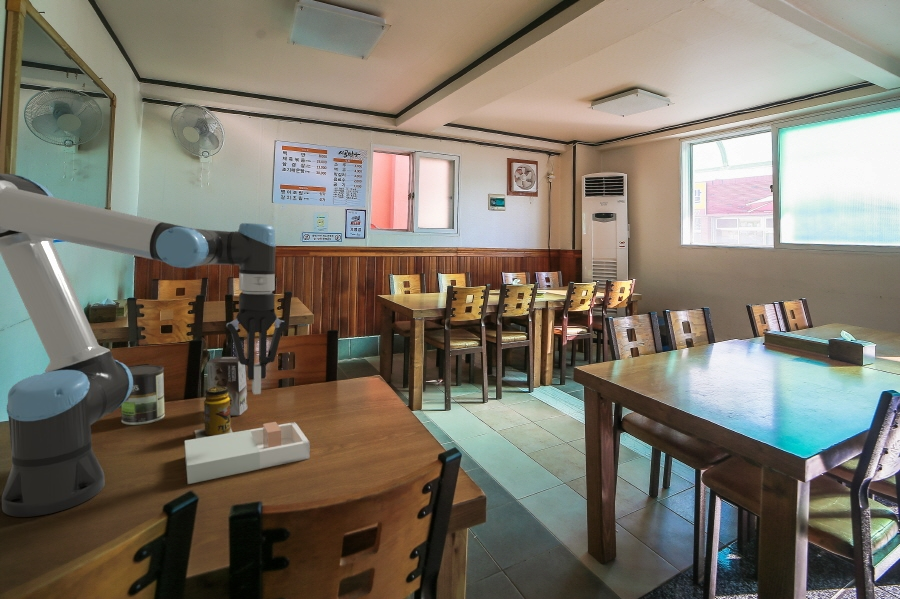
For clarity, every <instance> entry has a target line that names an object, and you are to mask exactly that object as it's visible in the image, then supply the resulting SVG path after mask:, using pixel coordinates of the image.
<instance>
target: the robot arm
mask: <svg viewBox="0 0 900 599" xmlns="http://www.w3.org/2000/svg"><path fill="white" fill-rule="evenodd" d="M275 235H276V233H275V228H274V227H273V225H270V224H264V223H246V222H244V223H239V226H238V230H237V231H225V230H213V229H212V230H211V229H202V228H200V229H199V228H192V227H186V226H182V225H179V224H174V223H169V222H164V221H161V220H156V219H151V218H147V217H142V216H138V215H133V214H129V213H125V212H121V211H115V210H113V209H112V210H111V209H107V208H102V207H99V206H94V205H89V204H84V203H80V202H76V201H72V200H71V201H70V200H66V199H63V198H59V197H55V196H54V195H53V194H52V192H51V191H50V190H49V189H48V188H46V187H45V186H44V185H43V184H41V183H39V182H37V181H35V180H32V179H30V178H27V177H25V176H23V175H19V174H12V173H3V172H0V256H1V257H2V260H3V262H4V264H5V266H6V269H7V270H8V273H9V275H10V277H11V279H12V282H13V284H14V285H15V287H16V289H17V292H18V294H19V297H20V299H21V301H22V302H23V305H24V308H25V309H26V311H27V313H28V316H29V318H30V321H31V322H32V324H33V326H34V329H35V330H36V333H37V335H38V337H39V339H40V341H41V343H42V345H43V348H44V350H45V353H46V354H47V356H48V358H49V362H48V364H47V366H46V368H45V370H44V372H43V373H42V374H34V375H31V376H28V377H26V378H23V379H21V380H20V381H17V382H16V383H15V384H13V385H12V386H11V388H10V389H9V391H8V393H7V405H6V413H7V416H8V429H9V430H8V431H9V438H10V440H9V441H10V452H11V453H10V454H11V465H12V466H11V470H10V472H9V475H8V478H7V480H6V482H5V486H4V489H3V491H2V495H1V510H2V512H3V513H4V514H5V515H7V516H11V517H16V518H17V517H18V518H30V517H39V516H45V515H50V514H53V513H57V512H61V511H64V510H68V509H71V508H73V507H76V506H78V505H81V504H82V503H83V504H84V503H85V502H87V501H89V500H90V499H92V498H94V497H95V496H97V495H98V494H99V493H100V492H101V491H102V490H103V489H104V487H105V485H106V484H105V483H106V482H105V481H106V479H105V473H104V472H105V471H104V470H103V468H102V466H101V464H100V462H99V460H98V458H97V456H96V454H95V453H94V451H93V445H92V428H91V427H92V426H91V425H93V424H95V423H96V422H98V421H99V420H101V419H102V418H104V417H105V416H107V415H108V414H112V413H113V412H114V411H116V410H118V409H119V408H120V407H121V404H122V403H124V402H125V401H126V400H127V398H128V397H129V395H130V393H131V391H132V388H133V377H132V374H131V372H130V370H129V369H128V368H129V367H128V366H127V365H126V364H124V363H123V362H120V361H119V360H117V359H114V356H113V354H112V351H111V350H110V348H106V347H104V346H101V345H100V344H99V343H98V341H97V338H96V336H95V334H94V332H93V329H92V327H91V325H90V323H89V320H88V317H87V316H86V314H85V312H84V310H83V307H82V305H81V301H79V298H78V296H77V293H76V291H75V289H74V287H73V284H72V282H71V280H70V278H69V275H68V274H67V272H66V269H65V267H64V264H63V262H62V259H61V258H60V255H59V252H58V251H57V249H56V247H55V244H54V241H55V240H57V241H62V242H66V243H70V244H71V243H72V244H75V245H76V244H77V245H81V246H87V247H92V248H97V249H100V250H106V251H111V252H115V253H120V254H125V255H131V256H135V257H140V258H144V259H148V260H154V261H158V262H162V263H166V264H167V265H169V266H171V267H174V268H175V267H176V268H180V269H190V268H193V267H198V266H208V265H209V266H210V265H218V266H219V265H221V266H222V265H225V266H228V265H229V266H238V275H239V276H238V290H239V291H241V292H240V293H239V294H238V313H237V315H236V318H235V319H234V320H232V321H229V322H226V324H225V327H226V328H227V330H228V331H229V332H230V333H231V337H232V340H233V343H234V344H233V345H234V348H235V352H236V357H238V360H239V362H240V364H242V365H246V376H247V379H248V381H251V392H252V393H253V395H261V394H262V380H263V379H266V377H267V365H268V364H270V363H274V362H275V359H276V357H277V356H276V355H277V351H278V349H279V345H280V340H281V336H282V333H283V331H284V330H285V328H286V327H287V322H286V321H285V320H282V319H279V318H278V315H277V313H276V310H275V309H276V308H275V303H276V302H275V301H276V300H275V298H276V297H275V295H276V294H274V293H273V292H274V291H275V290H276V286H275V285H276V284H275V281H276V278H275V277H276V276H275V275H276V274H275V273H276V271H275V270H276V267H275V266H276V247H277V246H276V245H277V244H276V236H275ZM239 324H240V325H241V327H242V328H243V329H244V330H245V331H246V336H247V337H246V342H247V343H246V344H247V345H246V347H247V348H246V349H247V350H246V356H245V353H244V350H243V345H242V342H241V339H240V335H239V332H238V330H239V329H240V328H239ZM273 324H274V330H273V334H272V337H271V342H270V345H269V348H268V351H267V338H268V331H269V330H270V329H271V327H272V326H273ZM256 333H258V362H259V363H255V342H256V341H255V340H256V339H255V338H256ZM267 352H268V353H267ZM245 357H246V358H245Z"/></svg>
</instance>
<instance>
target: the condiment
mask: <svg viewBox="0 0 900 599" xmlns="http://www.w3.org/2000/svg"><path fill="white" fill-rule="evenodd" d="M204 398H205V399H204V401H203V404H204V405H203V406H204V409H203V411H204V428H202V429H195V430H194V434H195V439H197V438H203V437H209V436H215V435H221V434H227V433H233V430H232V427H231V415H230V398H229V397H228V388H227V387H222V386H218V387H212V388H209V389H208V388H207V389H206V390H205V397H204Z"/></svg>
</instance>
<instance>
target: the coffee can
mask: <svg viewBox="0 0 900 599" xmlns="http://www.w3.org/2000/svg"><path fill="white" fill-rule="evenodd" d="M164 368H165V367H164V366H161V365H157V364H145V365H136V366H130V367H128V369H129V370H130V372H131V374H132V377H133V388H132V391H131V393H130V395H129V397H128V398H127V400H126V401H125V402H124V403H122V404H121V406H120V407H121V409H120V411H121V423H122V424H123V425H129V426H139V425H140V426H141V425H146V424H151V423H154V422H158V421H160V420H162V419H164V417H165V416H166V414H165V387H164V381H165V380H164V370H165V369H164Z"/></svg>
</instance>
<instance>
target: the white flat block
mask: <svg viewBox="0 0 900 599" xmlns="http://www.w3.org/2000/svg"><path fill="white" fill-rule="evenodd" d="M250 430H251V429H246V430H241V431H240V430H239V431H235V432H233V431H232V432H233V433H227V434H221V435H215V436H209V437H203V438H197V439H196V438H193V439H186V440H184V454H185V455H184V457H185V458H184V459H185V470H186V478H187V485H190V484H195V483H199V482H205V481H209V480H213V479H214V480H215V479H218V478H223V477H228V476H233V475H237V474H242V473H247V472H252V471H256V470H261V469H260V451H259V449H258V447H257V445H256V443H255V440H254V438H253V436H252V434H251V431H250Z"/></svg>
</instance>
